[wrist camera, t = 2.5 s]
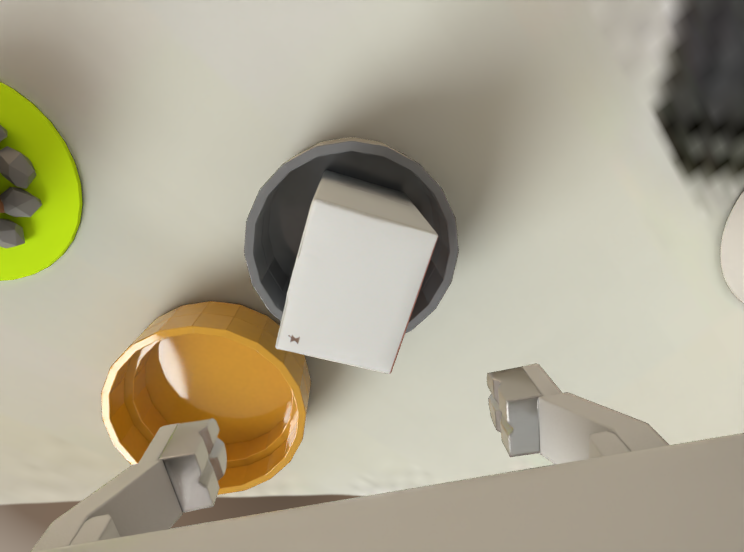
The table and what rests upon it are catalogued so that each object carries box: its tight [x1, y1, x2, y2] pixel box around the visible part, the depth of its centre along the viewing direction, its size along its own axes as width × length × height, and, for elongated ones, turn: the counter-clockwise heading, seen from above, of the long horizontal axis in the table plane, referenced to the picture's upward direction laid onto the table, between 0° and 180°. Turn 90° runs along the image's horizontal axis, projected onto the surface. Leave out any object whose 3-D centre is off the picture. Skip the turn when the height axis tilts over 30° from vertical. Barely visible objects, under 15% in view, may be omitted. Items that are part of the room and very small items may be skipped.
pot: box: [244, 137, 459, 333], centre depth 32 cm, size 14×14×6 cm
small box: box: [275, 170, 439, 374], centre depth 28 cm, size 8×6×13 cm
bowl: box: [101, 301, 311, 495], centre depth 36 cm, size 15×15×5 cm
